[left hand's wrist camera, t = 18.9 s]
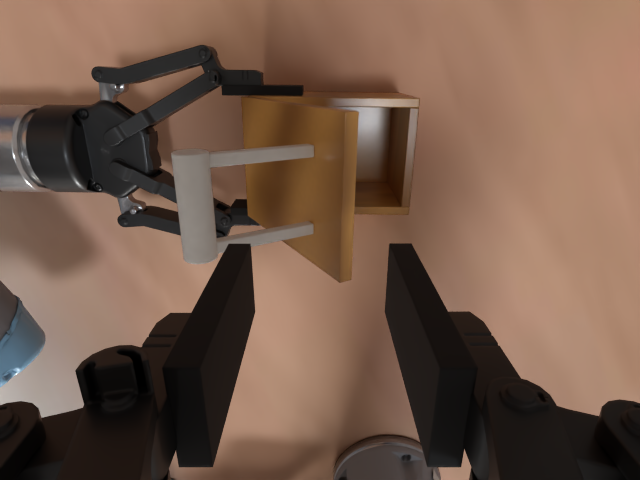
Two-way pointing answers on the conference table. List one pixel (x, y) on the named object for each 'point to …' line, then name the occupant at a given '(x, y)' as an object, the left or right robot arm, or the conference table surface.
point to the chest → (376, 145)
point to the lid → (279, 184)
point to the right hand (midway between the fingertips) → (302, 152)
